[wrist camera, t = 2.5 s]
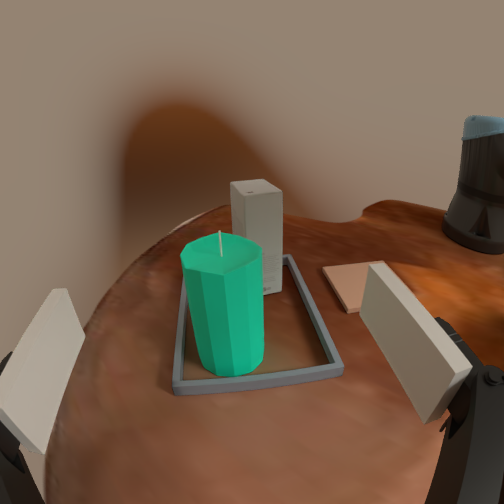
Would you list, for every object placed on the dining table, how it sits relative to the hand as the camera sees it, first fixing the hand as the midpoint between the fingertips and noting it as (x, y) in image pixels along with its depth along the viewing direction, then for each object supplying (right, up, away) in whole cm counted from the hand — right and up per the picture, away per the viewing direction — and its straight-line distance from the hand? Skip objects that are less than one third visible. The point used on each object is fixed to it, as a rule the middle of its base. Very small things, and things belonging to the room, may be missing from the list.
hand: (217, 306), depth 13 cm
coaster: (+15, -2, +23) cm, 28 cm away
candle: (0, -7, +15) cm, 16 cm away
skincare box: (+2, -2, +25) cm, 25 cm away
